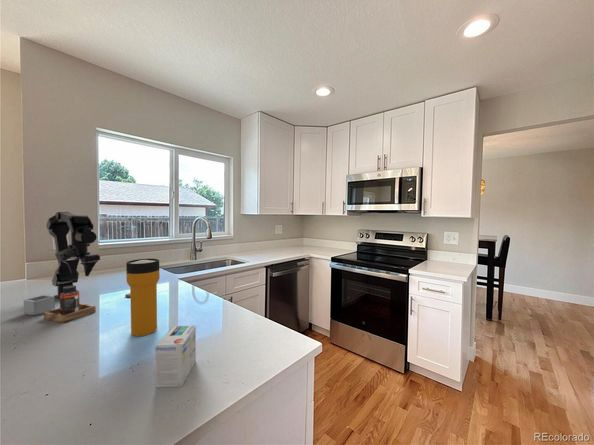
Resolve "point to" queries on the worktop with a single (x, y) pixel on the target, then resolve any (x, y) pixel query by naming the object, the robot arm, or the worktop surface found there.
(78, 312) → the tray
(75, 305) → the supplement bottle
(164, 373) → the light bulb box
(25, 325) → the worktop surface
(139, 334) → the flashlight
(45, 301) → the grey open square bin
